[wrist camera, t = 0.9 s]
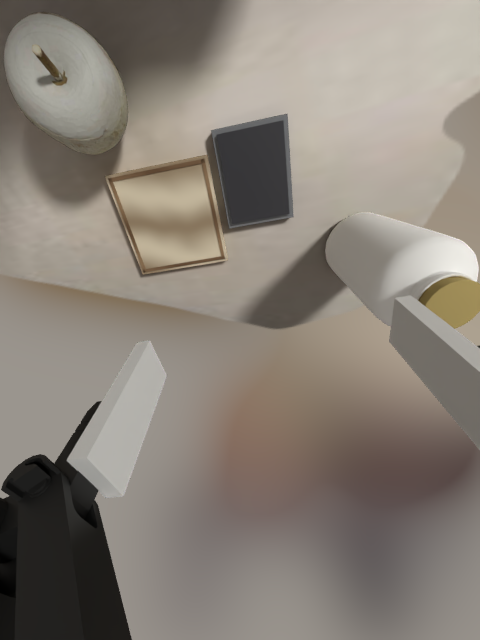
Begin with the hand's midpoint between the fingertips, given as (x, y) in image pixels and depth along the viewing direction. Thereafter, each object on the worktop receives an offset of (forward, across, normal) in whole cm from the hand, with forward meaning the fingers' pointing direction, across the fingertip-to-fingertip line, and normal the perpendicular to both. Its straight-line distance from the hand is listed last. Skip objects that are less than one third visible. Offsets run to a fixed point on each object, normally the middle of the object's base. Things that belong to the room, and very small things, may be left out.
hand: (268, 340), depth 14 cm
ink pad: (+23, +1, +7) cm, 24 cm away
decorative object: (+23, -13, +16) cm, 31 cm away
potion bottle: (+23, +13, -4) cm, 26 cm away
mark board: (+22, -10, +4) cm, 25 cm away
